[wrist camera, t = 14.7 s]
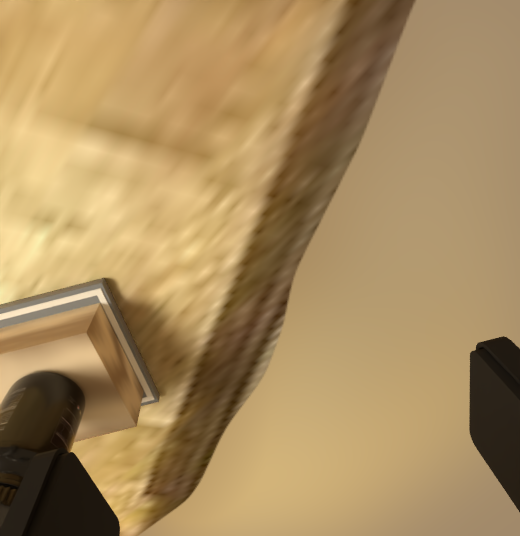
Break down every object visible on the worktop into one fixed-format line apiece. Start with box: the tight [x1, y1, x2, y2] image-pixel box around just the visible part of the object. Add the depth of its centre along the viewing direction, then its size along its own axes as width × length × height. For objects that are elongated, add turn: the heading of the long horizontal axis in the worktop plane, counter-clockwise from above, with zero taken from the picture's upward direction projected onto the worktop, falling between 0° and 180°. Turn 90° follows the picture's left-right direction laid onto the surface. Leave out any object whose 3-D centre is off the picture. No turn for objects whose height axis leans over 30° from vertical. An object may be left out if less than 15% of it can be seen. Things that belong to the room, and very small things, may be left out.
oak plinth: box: [0, 303, 144, 442], centre depth 41 cm, size 12×12×5 cm
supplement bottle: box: [0, 372, 85, 528], centre depth 34 cm, size 7×7×12 cm
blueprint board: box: [0, 278, 160, 406], centre depth 44 cm, size 16×14×1 cm
